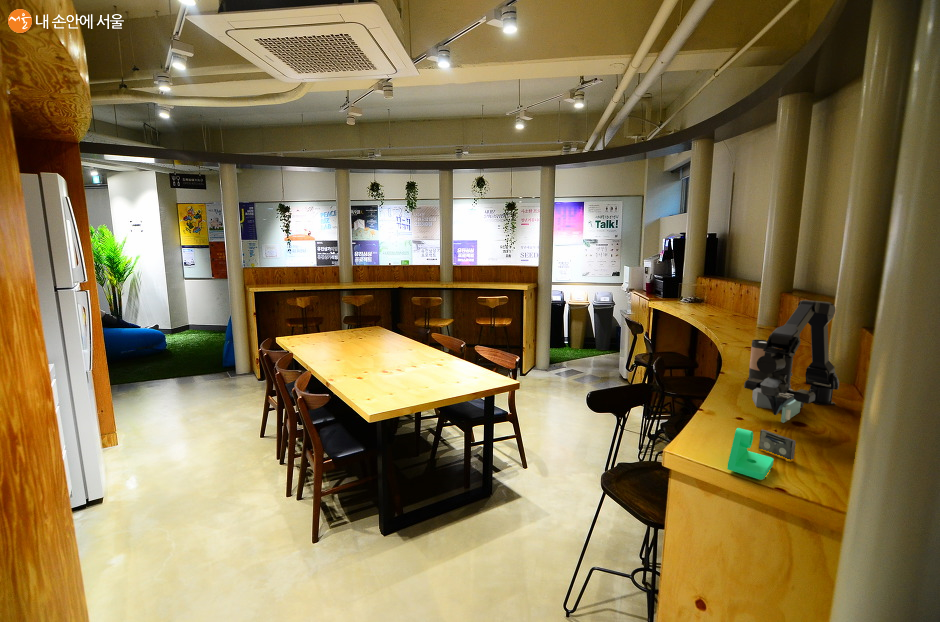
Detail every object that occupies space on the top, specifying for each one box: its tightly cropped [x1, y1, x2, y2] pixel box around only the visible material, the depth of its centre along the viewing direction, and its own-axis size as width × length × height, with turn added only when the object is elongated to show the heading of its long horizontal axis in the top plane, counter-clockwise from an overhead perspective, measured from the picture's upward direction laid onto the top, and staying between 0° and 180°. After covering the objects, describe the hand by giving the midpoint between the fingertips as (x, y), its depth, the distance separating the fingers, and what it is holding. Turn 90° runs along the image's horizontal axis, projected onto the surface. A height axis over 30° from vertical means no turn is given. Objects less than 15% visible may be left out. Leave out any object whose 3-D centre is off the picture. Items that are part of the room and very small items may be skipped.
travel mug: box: [748, 339, 773, 381], centre depth 177 cm, size 8×8×20 cm
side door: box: [780, 400, 801, 424], centre depth 147 cm, size 16×2×5 cm, turn 128°
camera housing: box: [751, 388, 805, 411], centre depth 159 cm, size 14×10×6 cm
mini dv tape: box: [758, 429, 796, 460], centre depth 120 cm, size 8×2×6 cm, turn 26°
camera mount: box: [726, 427, 775, 481], centre depth 112 cm, size 12×8×10 cm, turn 135°
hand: (775, 414), depth 146 cm, fingers closed
